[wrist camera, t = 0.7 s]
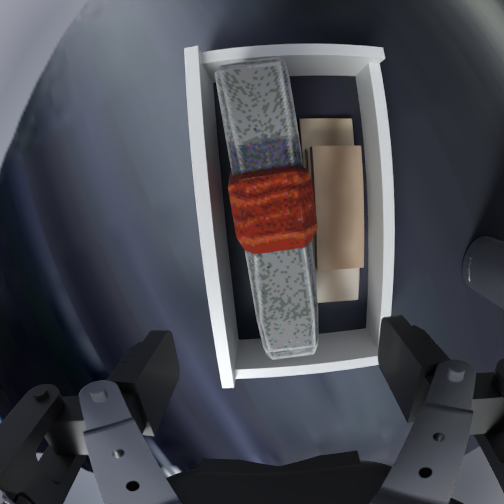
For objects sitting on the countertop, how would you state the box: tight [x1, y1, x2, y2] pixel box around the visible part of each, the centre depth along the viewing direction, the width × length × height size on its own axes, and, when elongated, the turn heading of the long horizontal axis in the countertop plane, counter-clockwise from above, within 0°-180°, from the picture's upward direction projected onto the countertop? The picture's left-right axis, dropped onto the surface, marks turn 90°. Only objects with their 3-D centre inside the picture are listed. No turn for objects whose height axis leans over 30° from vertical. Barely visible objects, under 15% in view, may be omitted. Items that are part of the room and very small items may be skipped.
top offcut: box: [309, 146, 364, 271], centre depth 37 cm, size 6×15×2 cm, turn 4°
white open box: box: [184, 44, 395, 388], centre depth 36 cm, size 22×40×10 cm, turn 5°
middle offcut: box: [305, 148, 359, 303], centre depth 40 cm, size 6×20×2 cm, turn 3°
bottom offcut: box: [299, 118, 354, 168], centre depth 41 cm, size 7×24×2 cm, turn 4°
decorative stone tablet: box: [214, 57, 319, 360], centre depth 33 cm, size 19×6×30 cm
